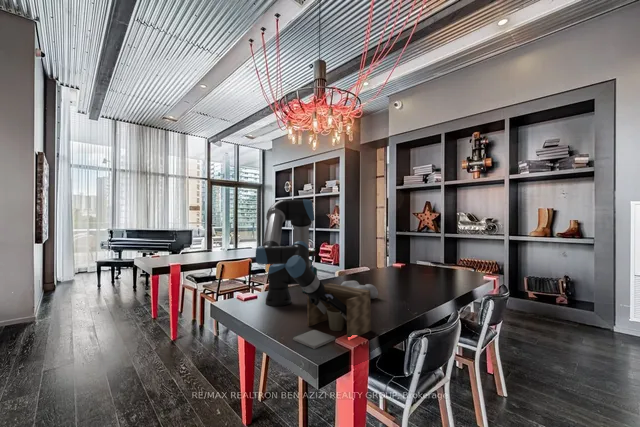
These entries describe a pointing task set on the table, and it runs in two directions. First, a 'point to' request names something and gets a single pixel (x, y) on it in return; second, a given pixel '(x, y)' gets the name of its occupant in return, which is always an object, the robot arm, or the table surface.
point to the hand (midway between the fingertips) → (336, 314)
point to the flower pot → (335, 319)
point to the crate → (355, 304)
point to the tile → (314, 338)
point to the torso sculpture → (362, 287)
